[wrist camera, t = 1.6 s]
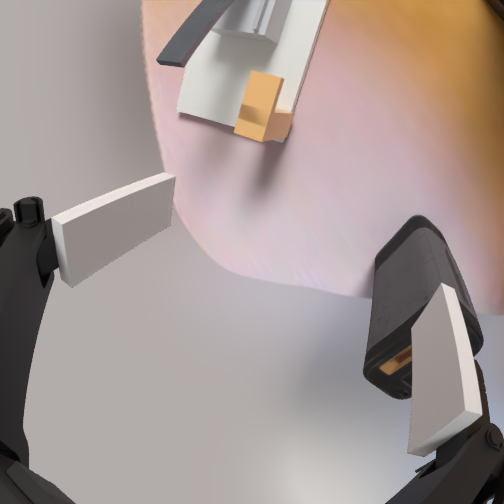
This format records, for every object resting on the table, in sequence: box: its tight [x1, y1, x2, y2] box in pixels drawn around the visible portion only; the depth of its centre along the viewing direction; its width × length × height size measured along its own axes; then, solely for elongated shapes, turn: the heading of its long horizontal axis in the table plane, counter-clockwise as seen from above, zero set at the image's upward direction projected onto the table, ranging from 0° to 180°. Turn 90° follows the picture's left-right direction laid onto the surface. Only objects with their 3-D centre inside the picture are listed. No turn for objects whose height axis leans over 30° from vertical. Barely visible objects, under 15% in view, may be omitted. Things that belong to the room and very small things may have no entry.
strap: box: [156, 0, 234, 68], centre depth 20 cm, size 17×4×1 cm, turn 163°
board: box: [176, 0, 329, 143], centre depth 27 cm, size 24×16×8 cm, turn 164°
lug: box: [234, 70, 294, 142], centre depth 28 cm, size 6×3×8 cm, turn 164°
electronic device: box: [363, 215, 484, 400], centre depth 25 cm, size 9×6×20 cm, turn 149°
